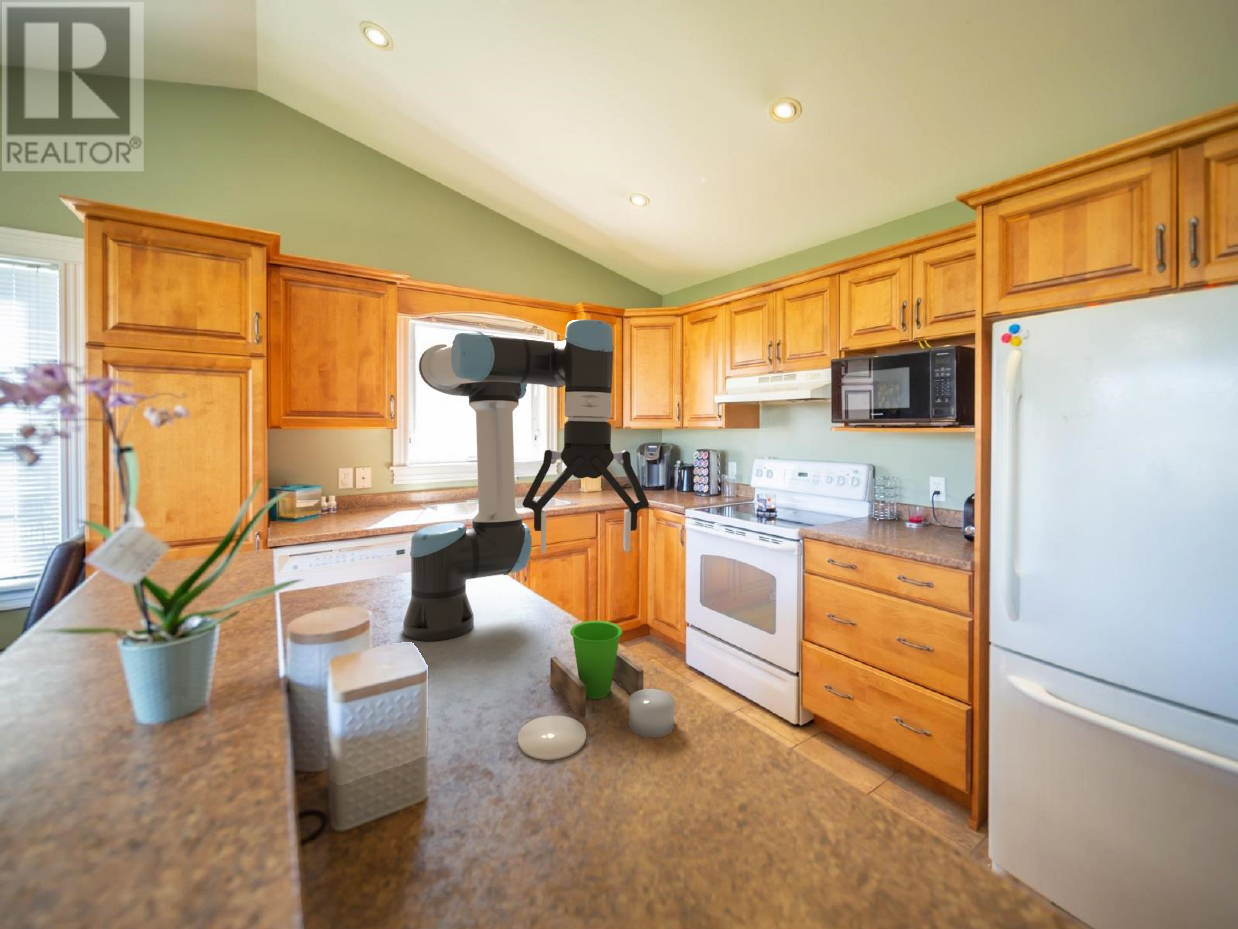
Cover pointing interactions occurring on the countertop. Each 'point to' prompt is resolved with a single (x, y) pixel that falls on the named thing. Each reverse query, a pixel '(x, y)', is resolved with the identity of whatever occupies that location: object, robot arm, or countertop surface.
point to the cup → (596, 655)
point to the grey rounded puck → (651, 713)
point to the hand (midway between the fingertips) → (585, 550)
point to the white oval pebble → (552, 737)
